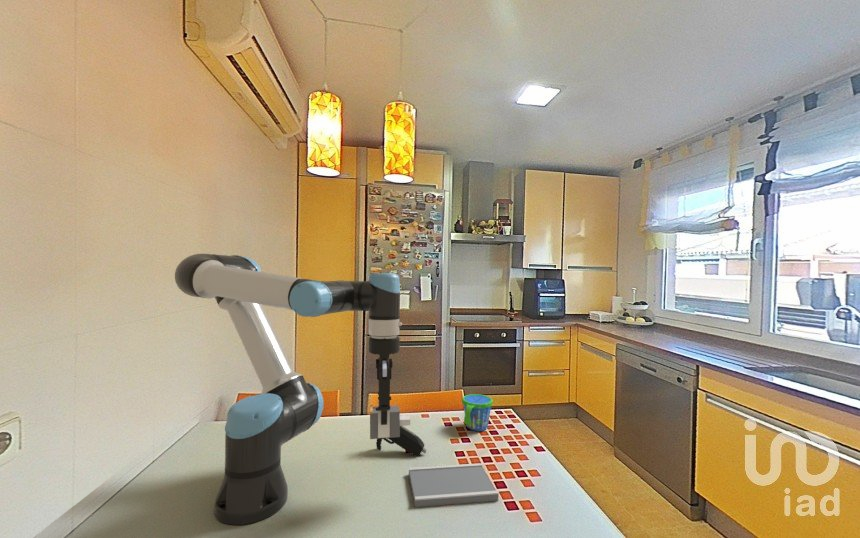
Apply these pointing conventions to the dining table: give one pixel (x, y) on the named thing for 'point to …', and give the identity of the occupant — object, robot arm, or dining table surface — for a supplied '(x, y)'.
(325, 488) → the dining table surface
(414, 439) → the gun
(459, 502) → the slate pad
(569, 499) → the dining table surface
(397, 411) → the block
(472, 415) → the snack cup
